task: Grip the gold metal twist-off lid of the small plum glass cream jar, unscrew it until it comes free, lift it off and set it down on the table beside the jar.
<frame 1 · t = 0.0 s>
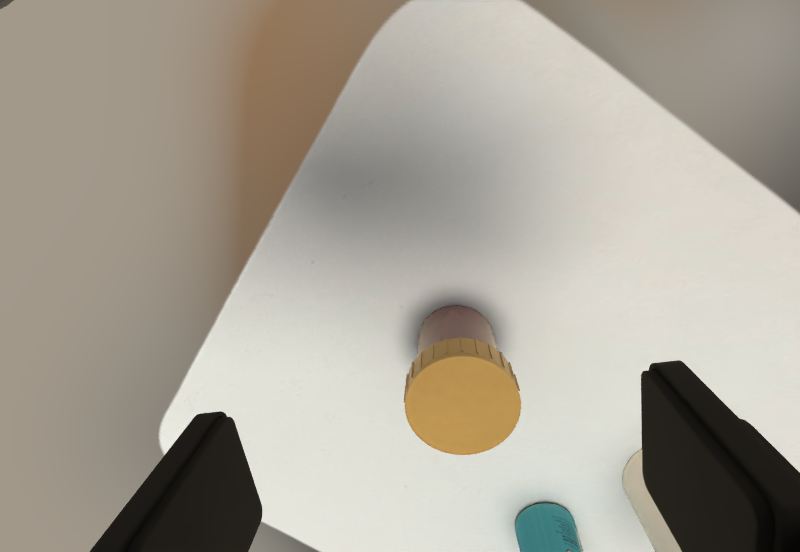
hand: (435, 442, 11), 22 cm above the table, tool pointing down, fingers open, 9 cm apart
tube: (542, 523, 40), on the table
jar lid: (462, 404, 27), point 8 cm above the table, screwed on, not yet turned
cream jar: (455, 339, 35), on the table
cylindrical container: (668, 474, 38), on the table
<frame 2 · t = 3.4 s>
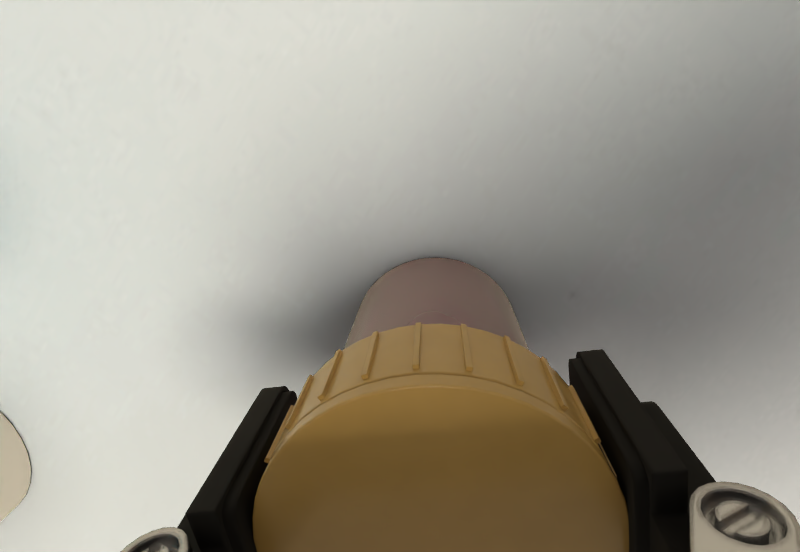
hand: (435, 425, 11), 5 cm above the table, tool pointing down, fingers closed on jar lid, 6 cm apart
jar lid: (436, 531, 9), point 8 cm above the table, screwed on, not yet turned, touching gripper
cream jar: (434, 333, 16), on the table
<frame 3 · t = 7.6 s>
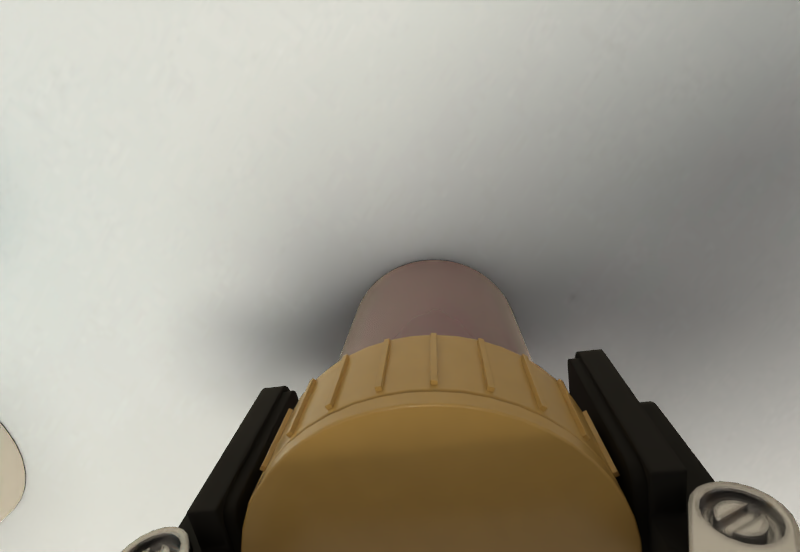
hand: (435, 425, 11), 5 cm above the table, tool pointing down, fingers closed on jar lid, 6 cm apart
cream jar: (433, 336, 16), on the table
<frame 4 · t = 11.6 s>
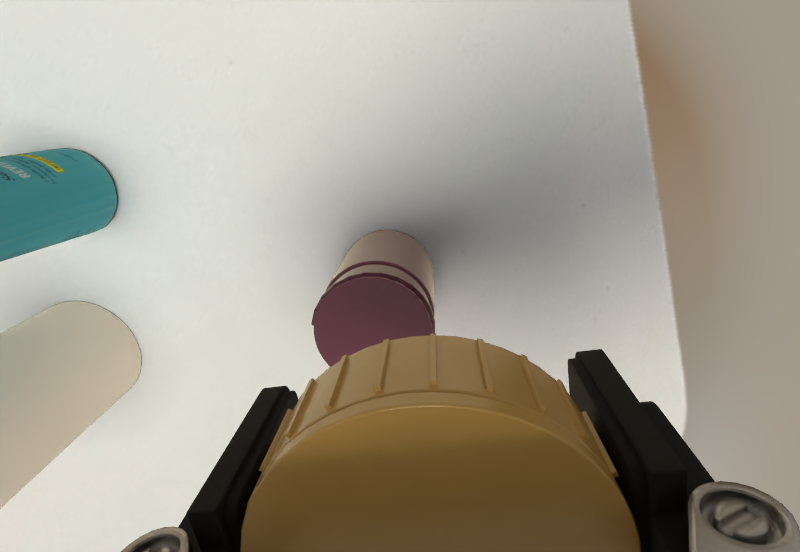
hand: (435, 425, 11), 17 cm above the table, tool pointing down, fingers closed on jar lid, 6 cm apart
tube: (78, 187, 28), on the table
cream jar: (387, 274, 28), on the table
cylindrical container: (89, 350, 31), on the table
when the fingers open (1 cm above the table, at t = 15.9 s): jar lid drops 3 cm, point 2 cm above the table.
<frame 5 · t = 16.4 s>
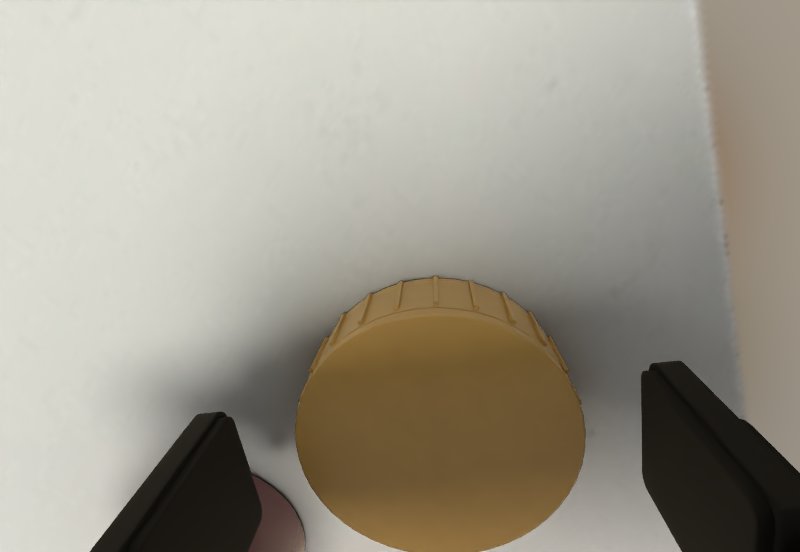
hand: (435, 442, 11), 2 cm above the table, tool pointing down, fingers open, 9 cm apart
jar lid: (437, 436, 11), point 2 cm above the table, off its thread
cream jar: (220, 533, 15), on the table
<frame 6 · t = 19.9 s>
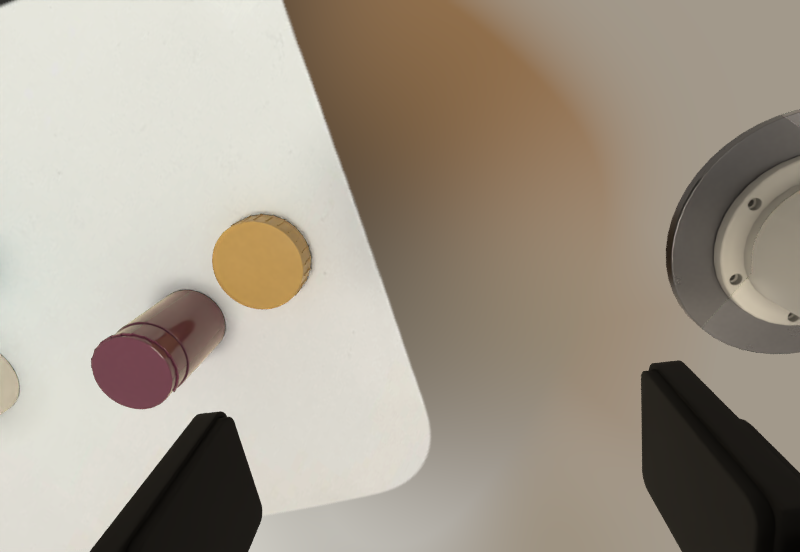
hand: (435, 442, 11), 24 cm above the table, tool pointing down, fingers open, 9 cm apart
jar lid: (259, 265, 34), point 2 cm above the table, off its thread
cream jar: (192, 321, 38), on the table
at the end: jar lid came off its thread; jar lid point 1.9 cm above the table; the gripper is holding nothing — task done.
